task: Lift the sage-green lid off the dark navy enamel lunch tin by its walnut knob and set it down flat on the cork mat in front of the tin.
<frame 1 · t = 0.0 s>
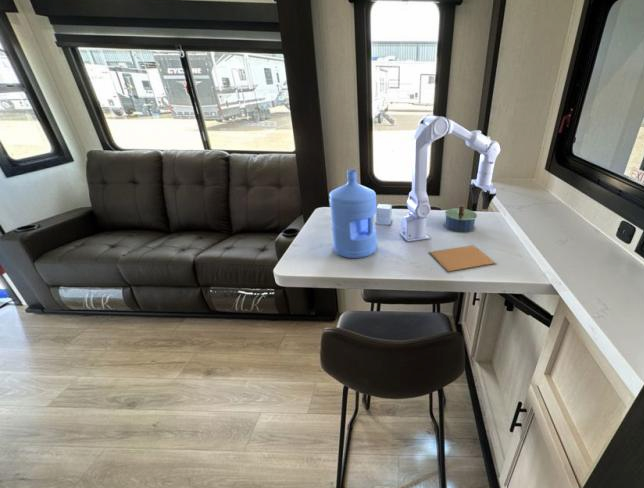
hand: (479, 206, 127), 10 cm above the table, tool pointing down, fingers open, 7 cm apart
lid: (460, 214, 130), point 5 cm above the table, touching tin
tin: (459, 226, 133), on the table
mat: (461, 258, 108), on the table
water jug: (355, 249, 112), on the table
product box: (384, 222, 135), on the table
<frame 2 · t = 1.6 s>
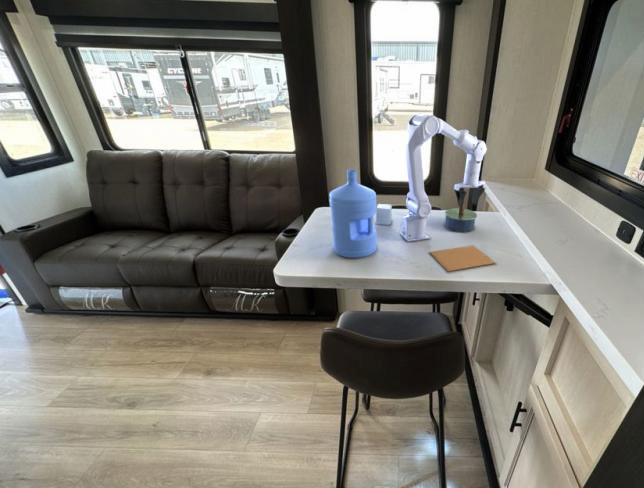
hand: (467, 205, 128), 10 cm above the table, tool pointing down, fingers open, 7 cm apart
nothing on the table moved.
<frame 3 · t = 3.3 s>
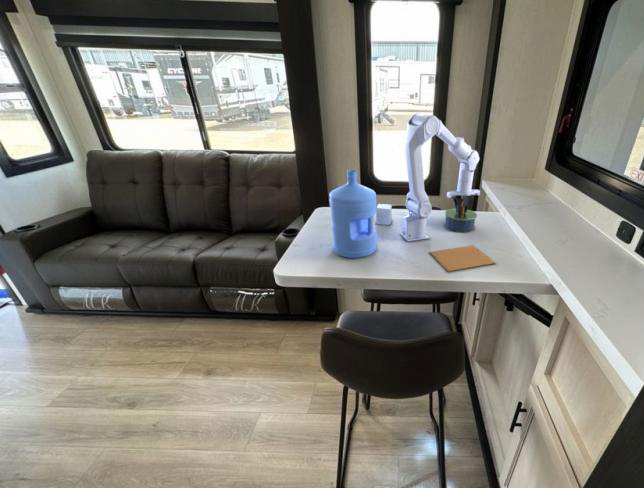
hand: (461, 212, 130), 6 cm above the table, tool pointing down, fingers closed on lid, 2 cm apart
lid: (460, 214, 130), point 5 cm above the table, touching gripper, tin
everything else where it was.
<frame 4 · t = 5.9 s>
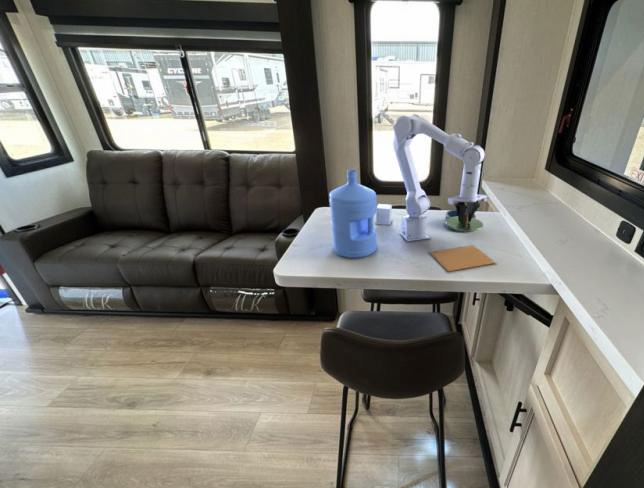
hand: (464, 221, 111), 10 cm above the table, tool pointing down, fingers closed on lid, 2 cm apart
lid: (464, 224, 111), point 9 cm above the table, touching gripper
everything else where it was.
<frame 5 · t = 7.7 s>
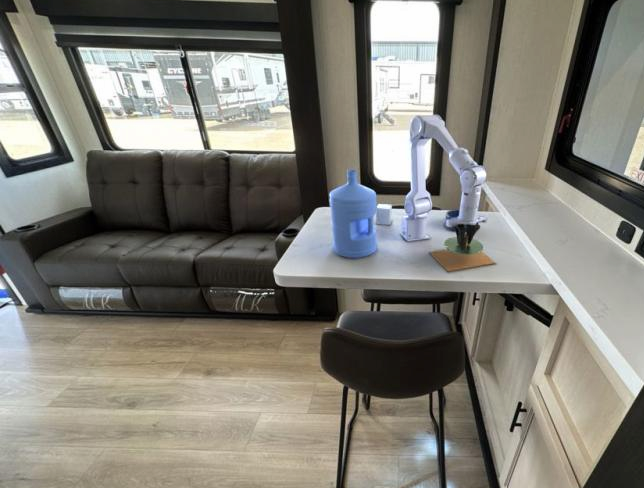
hand: (463, 243, 105), 6 cm above the table, tool pointing down, fingers closed on lid, 2 cm apart
lid: (463, 246, 105), point 5 cm above the table, touching gripper
everything else where it was.
when the fingers open (2 cm above the table, at t = 8.9 s): lid stays where it is, resting on mat.
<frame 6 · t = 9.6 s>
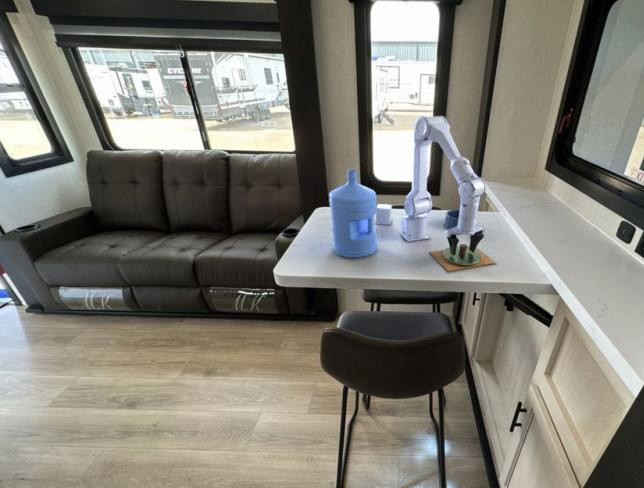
hand: (462, 252, 107), 2 cm above the table, tool pointing down, fingers open, 7 cm apart
lid: (462, 255, 107), point 1 cm above the table, touching mat
everything else where it was.
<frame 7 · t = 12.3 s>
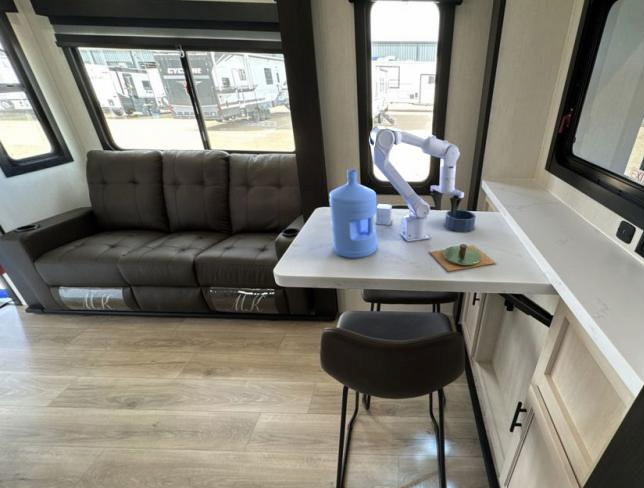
hand: (445, 211, 121), 9 cm above the table, tool pointing down, fingers open, 7 cm apart
nothing on the table moved.
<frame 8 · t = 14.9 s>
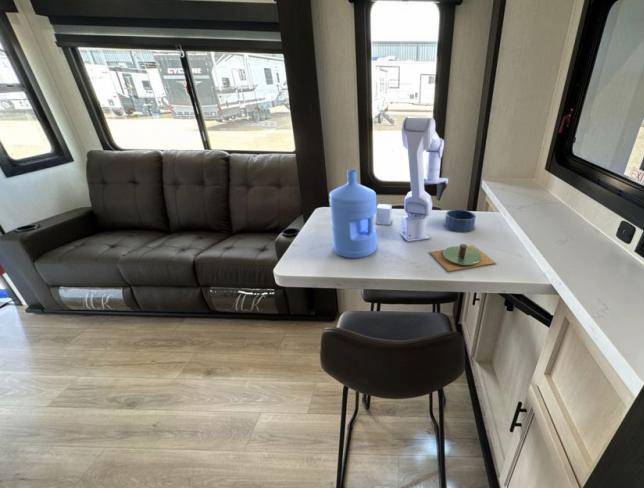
hand: (430, 200, 133), 9 cm above the table, tool pointing down, fingers open, 7 cm apart
nothing on the table moved.
at the end: lid inside the target area on the mat (0.1 cm from its centre), point 1.0 cm above the mat's base; lid point 1.0 cm above the table; lid tilted 0° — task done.
